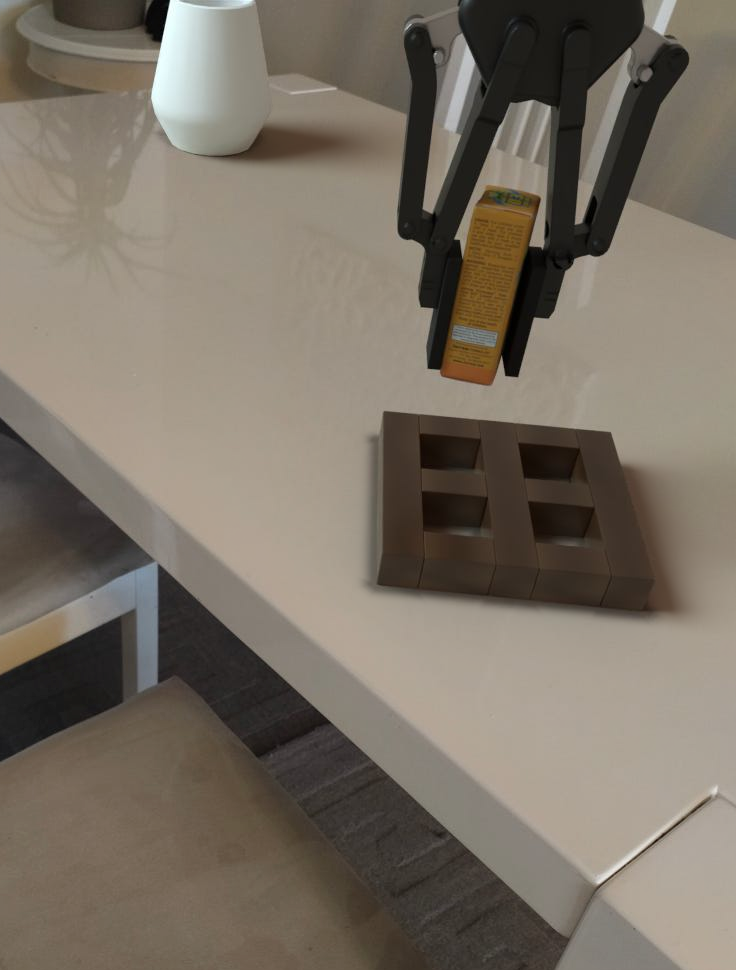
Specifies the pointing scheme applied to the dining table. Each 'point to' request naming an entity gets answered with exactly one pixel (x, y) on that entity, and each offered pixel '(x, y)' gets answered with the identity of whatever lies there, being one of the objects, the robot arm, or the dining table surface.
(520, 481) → the socket block
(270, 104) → the white vase
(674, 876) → the dining table surface
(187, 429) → the dining table surface
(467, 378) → the supplement box
